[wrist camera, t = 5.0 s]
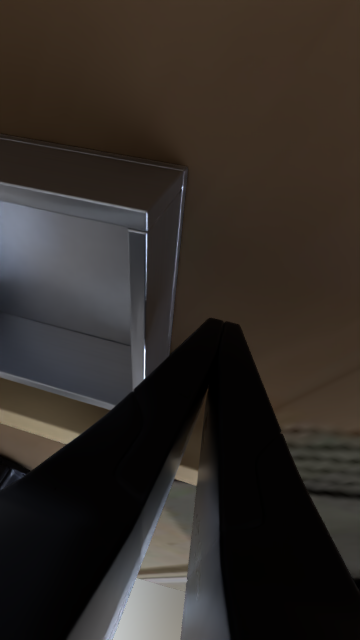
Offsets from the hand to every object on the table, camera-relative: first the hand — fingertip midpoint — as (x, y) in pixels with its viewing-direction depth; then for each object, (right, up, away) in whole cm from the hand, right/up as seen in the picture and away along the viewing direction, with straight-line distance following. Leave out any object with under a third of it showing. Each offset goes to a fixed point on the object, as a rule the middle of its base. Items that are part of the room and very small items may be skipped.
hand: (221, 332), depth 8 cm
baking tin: (-5, +2, +2) cm, 6 cm away
